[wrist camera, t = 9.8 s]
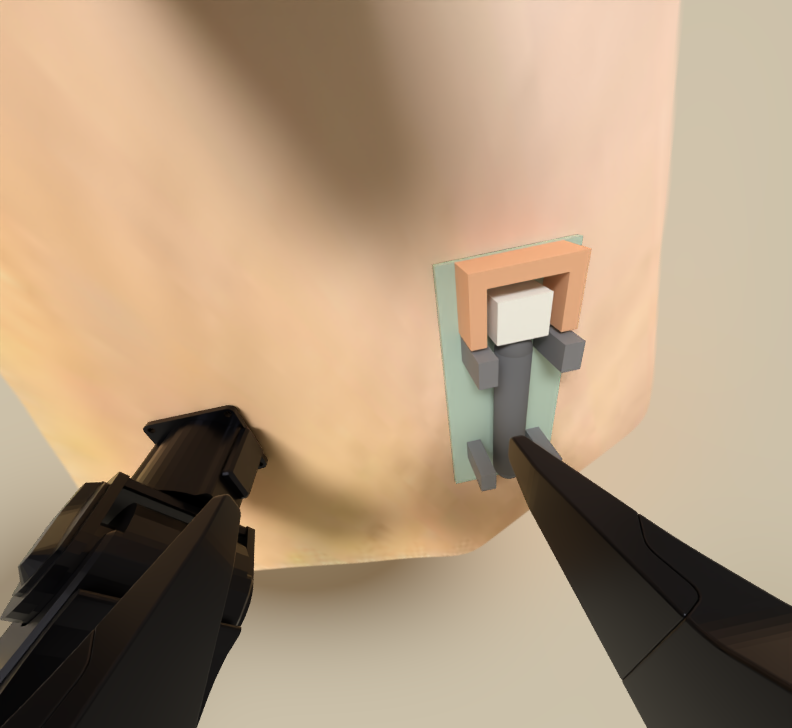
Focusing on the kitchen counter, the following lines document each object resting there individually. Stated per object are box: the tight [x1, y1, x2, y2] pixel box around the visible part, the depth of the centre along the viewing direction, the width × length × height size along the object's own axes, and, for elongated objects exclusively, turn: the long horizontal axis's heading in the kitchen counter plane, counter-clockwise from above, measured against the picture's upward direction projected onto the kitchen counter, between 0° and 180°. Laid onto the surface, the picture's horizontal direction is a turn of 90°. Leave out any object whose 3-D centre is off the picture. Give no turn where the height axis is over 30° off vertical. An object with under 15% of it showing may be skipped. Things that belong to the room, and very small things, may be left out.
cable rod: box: [487, 280, 554, 479], centre depth 23 cm, size 3×17×2 cm, turn 10°
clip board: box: [433, 234, 591, 491], centre depth 22 cm, size 9×21×4 cm, turn 10°
